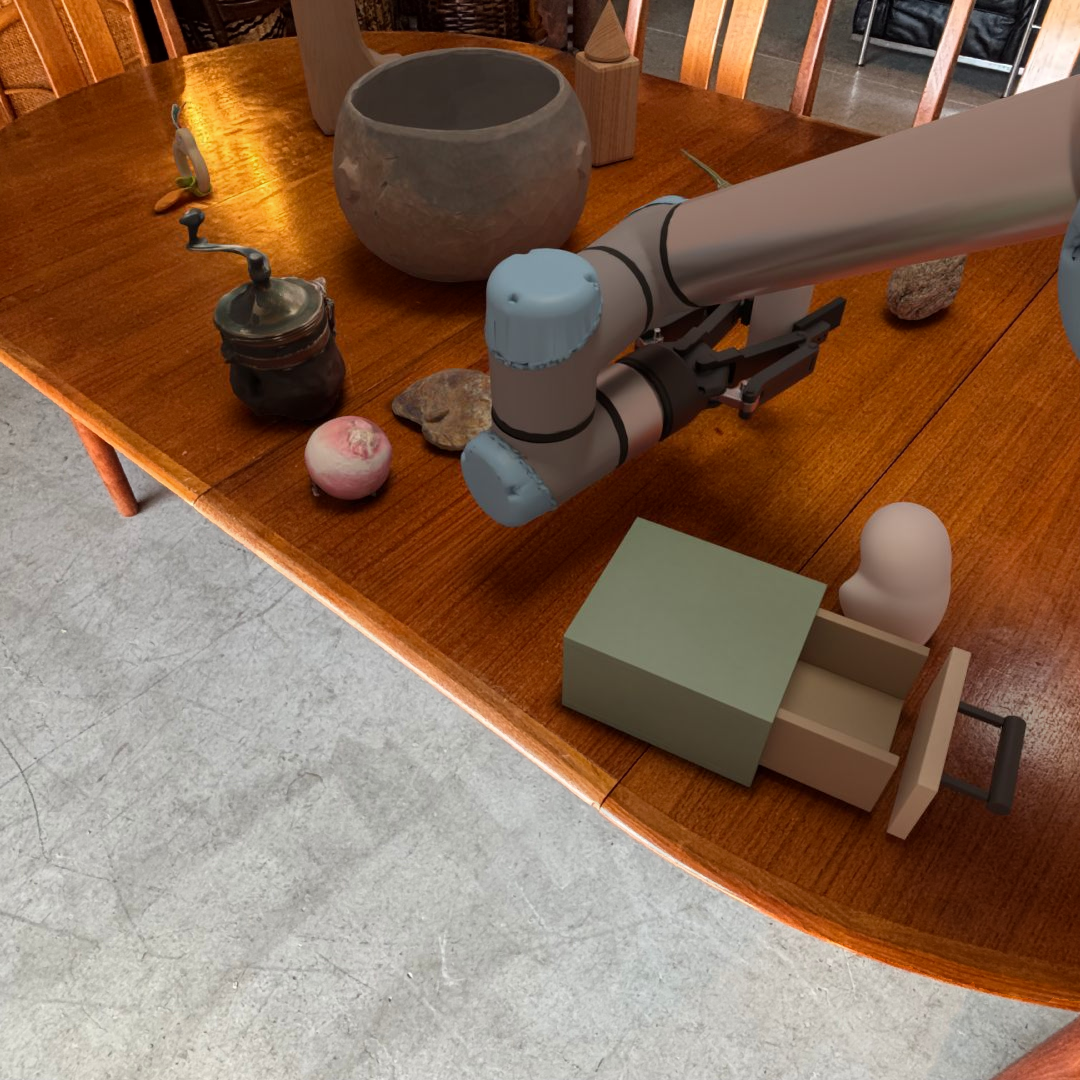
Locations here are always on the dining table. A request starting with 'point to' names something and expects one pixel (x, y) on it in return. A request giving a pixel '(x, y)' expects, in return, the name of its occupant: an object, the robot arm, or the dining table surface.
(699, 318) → the robot arm
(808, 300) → the beverage can
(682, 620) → the cabinet
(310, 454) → the onion
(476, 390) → the brown rock
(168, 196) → the rattle
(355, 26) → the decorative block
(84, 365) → the dining table surface
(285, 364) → the coffee grinder
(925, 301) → the stone
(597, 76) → the decorative item
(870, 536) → the figurine
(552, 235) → the clay pot
